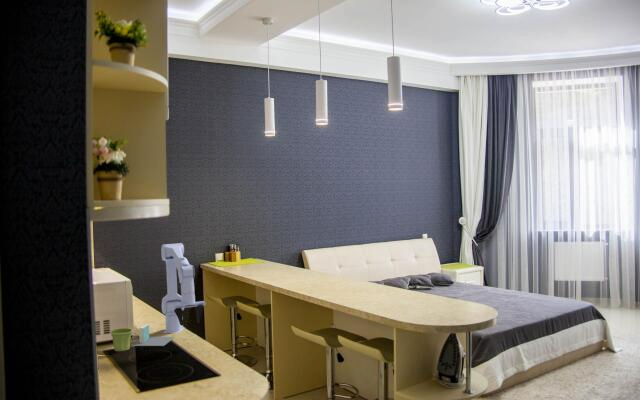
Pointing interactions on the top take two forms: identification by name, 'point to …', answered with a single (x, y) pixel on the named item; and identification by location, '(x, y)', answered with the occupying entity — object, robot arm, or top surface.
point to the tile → (144, 333)
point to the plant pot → (121, 338)
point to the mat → (153, 341)
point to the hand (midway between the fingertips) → (190, 324)
